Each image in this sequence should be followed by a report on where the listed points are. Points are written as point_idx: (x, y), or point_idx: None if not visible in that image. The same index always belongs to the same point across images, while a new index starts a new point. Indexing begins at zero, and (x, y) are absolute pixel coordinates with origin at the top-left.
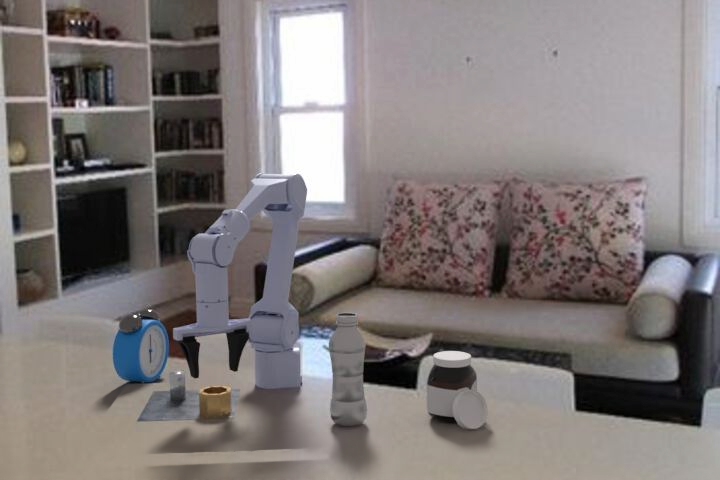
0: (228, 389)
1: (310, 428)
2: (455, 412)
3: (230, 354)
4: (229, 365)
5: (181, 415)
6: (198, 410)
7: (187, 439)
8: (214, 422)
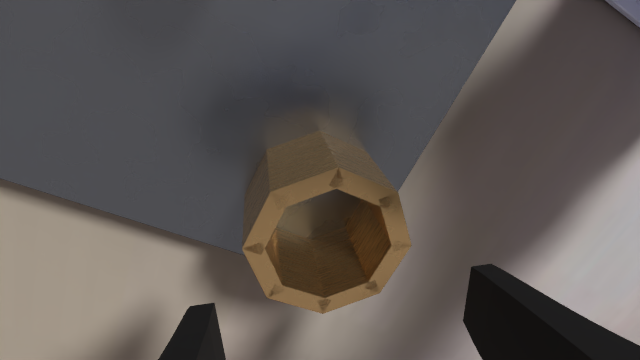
0: (389, 261)
1: None
2: None
3: (545, 353)
4: (485, 283)
5: (166, 178)
6: (254, 148)
7: (159, 313)
8: None
